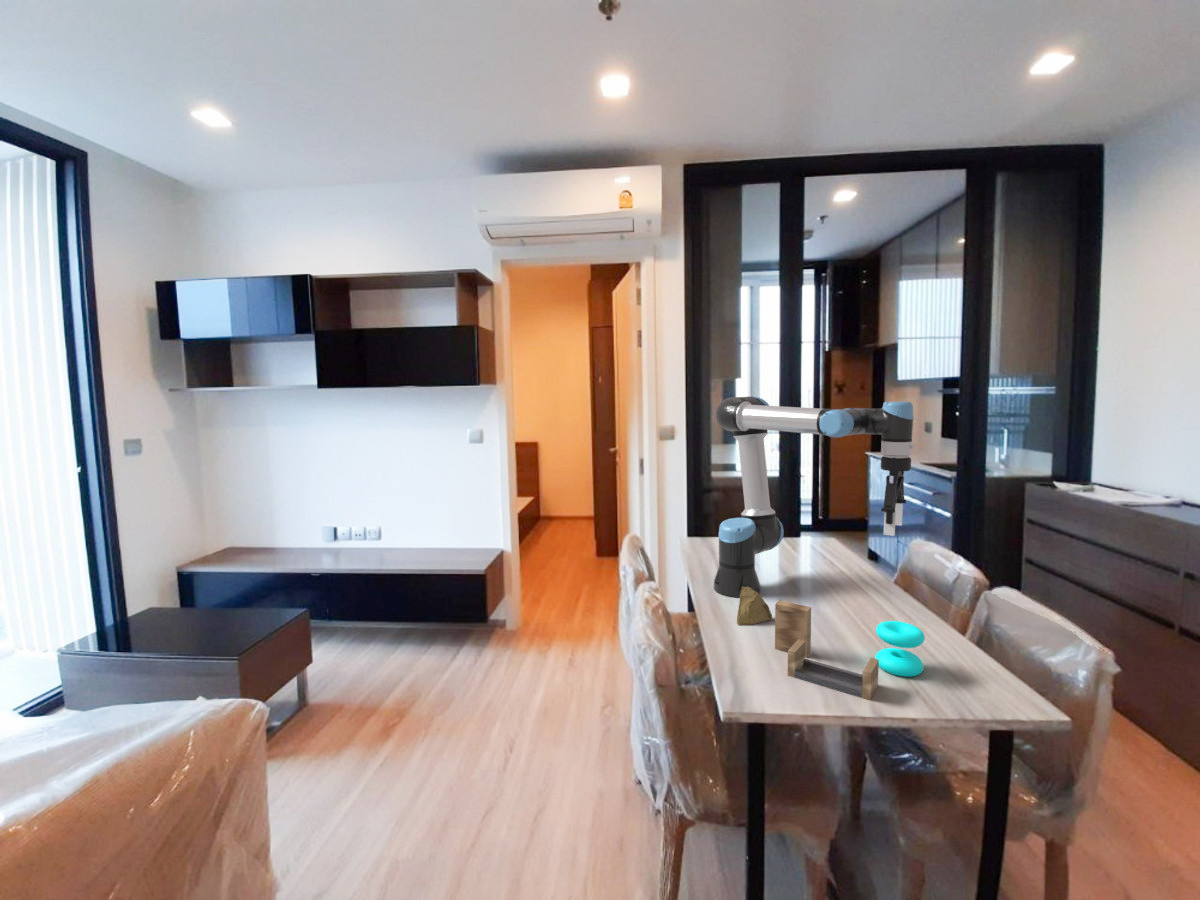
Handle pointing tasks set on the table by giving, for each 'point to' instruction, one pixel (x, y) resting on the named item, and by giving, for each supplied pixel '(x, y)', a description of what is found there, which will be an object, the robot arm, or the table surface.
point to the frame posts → (869, 673)
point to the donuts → (898, 658)
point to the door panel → (792, 626)
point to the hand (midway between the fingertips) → (893, 529)
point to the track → (831, 677)
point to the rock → (752, 608)
